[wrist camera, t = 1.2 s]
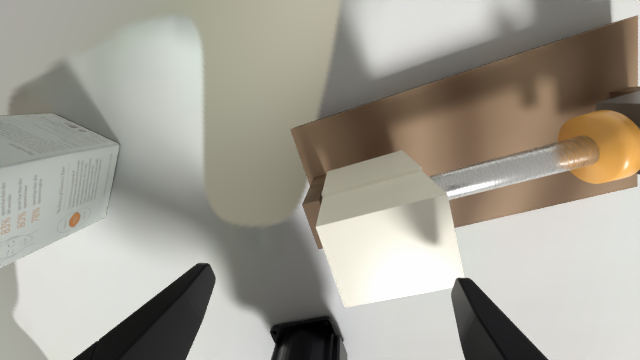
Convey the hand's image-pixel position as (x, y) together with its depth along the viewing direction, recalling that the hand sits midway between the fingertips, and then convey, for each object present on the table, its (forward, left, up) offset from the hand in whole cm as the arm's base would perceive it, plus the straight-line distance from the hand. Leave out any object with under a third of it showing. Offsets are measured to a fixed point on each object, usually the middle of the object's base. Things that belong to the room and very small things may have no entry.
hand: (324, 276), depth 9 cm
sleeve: (+2, 0, -9) cm, 9 cm away
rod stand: (+9, 0, -12) cm, 15 cm away
